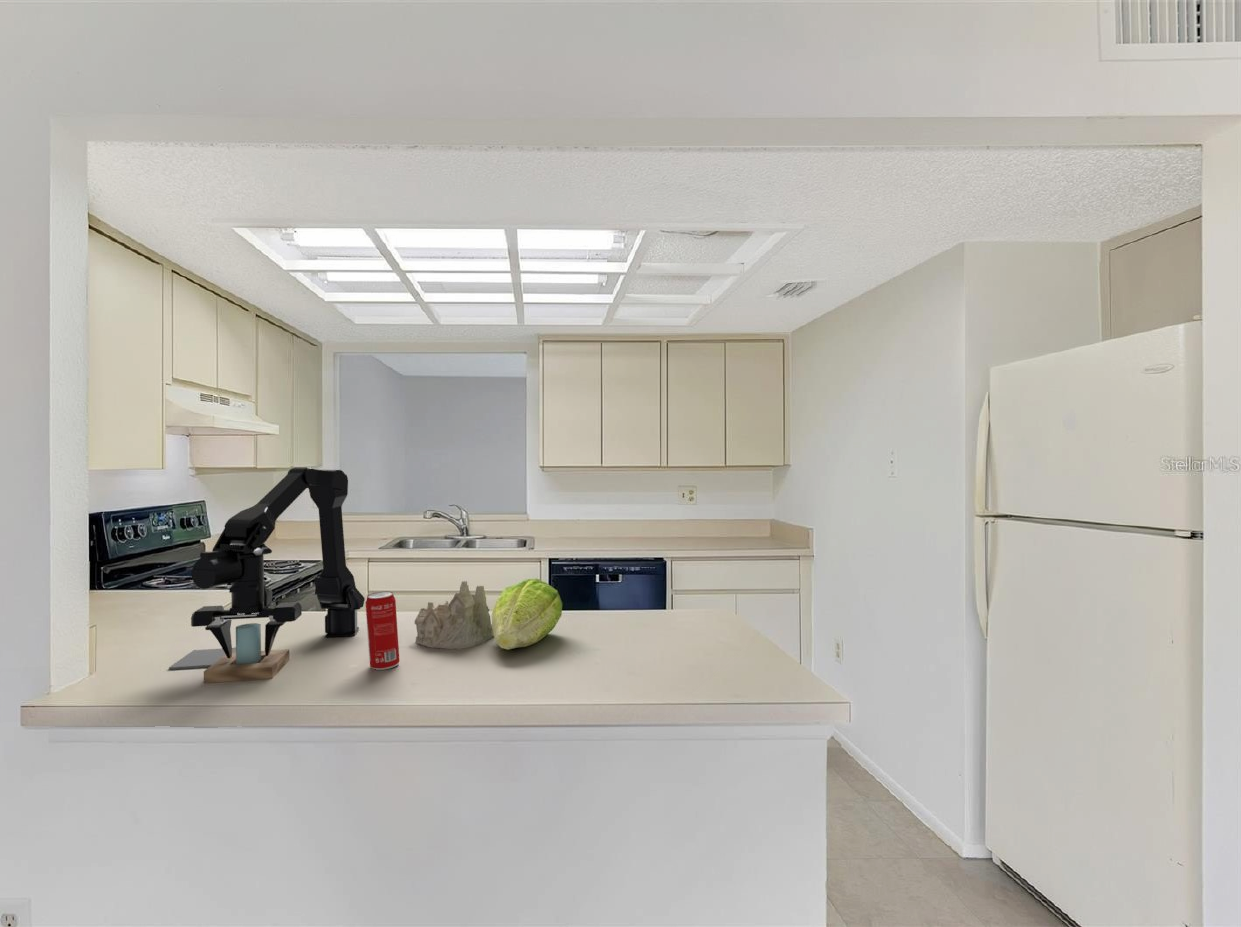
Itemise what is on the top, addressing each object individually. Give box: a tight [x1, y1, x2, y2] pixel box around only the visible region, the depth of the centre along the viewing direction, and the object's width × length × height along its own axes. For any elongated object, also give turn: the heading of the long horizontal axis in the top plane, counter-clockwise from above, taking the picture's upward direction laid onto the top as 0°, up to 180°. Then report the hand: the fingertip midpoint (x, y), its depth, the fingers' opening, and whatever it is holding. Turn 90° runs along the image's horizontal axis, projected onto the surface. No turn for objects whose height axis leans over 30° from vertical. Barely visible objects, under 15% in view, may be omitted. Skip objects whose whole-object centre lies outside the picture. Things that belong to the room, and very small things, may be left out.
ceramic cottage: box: [413, 580, 495, 650], centre depth 157 cm, size 16×16×15 cm
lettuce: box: [490, 578, 563, 651], centre depth 152 cm, size 14×24×15 cm
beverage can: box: [365, 590, 400, 671], centre depth 137 cm, size 6×6×15 cm
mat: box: [168, 647, 236, 671], centre depth 142 cm, size 12×12×1 cm
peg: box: [235, 622, 262, 664], centre depth 134 cm, size 4×4×9 cm
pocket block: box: [203, 648, 290, 684], centre depth 134 cm, size 12×12×2 cm
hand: (248, 656), depth 134 cm, fingers open, 7 cm apart
